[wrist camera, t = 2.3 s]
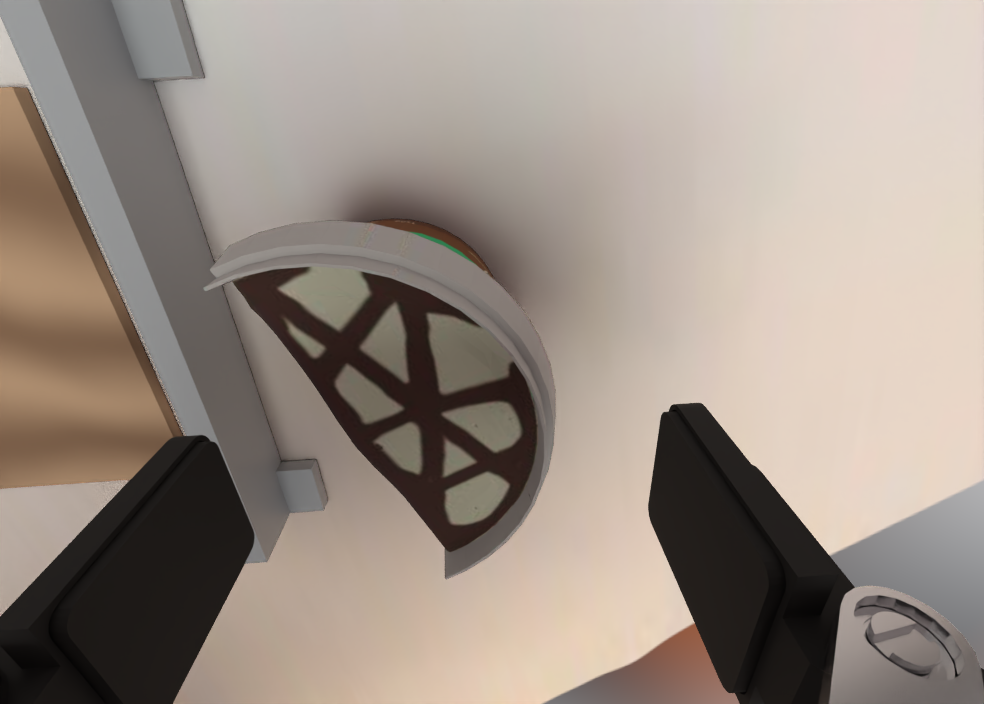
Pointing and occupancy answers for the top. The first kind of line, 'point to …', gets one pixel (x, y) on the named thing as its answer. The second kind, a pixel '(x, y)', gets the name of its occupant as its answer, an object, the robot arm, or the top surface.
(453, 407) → the food container
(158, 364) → the grey footed rail
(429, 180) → the top surface
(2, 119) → the walnut board
